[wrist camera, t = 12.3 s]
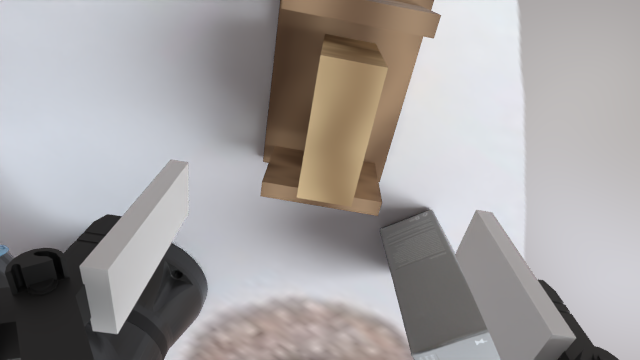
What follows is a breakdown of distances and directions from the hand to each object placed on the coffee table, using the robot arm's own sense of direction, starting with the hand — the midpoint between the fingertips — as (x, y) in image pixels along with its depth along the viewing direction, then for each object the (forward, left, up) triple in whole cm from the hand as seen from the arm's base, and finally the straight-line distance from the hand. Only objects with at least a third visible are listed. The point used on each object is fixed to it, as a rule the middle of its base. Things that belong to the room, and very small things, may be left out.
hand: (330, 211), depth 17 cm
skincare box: (+13, -16, -20) cm, 29 cm away
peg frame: (0, 0, -20) cm, 20 cm away
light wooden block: (0, 0, -16) cm, 16 cm away
